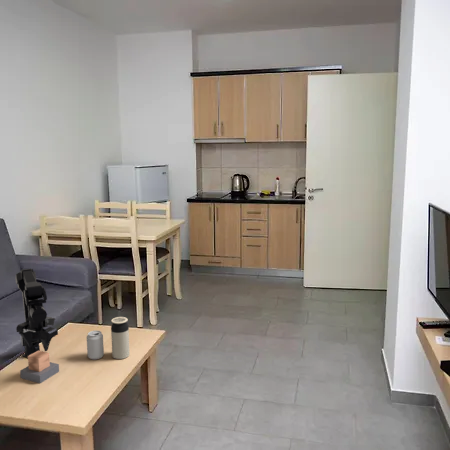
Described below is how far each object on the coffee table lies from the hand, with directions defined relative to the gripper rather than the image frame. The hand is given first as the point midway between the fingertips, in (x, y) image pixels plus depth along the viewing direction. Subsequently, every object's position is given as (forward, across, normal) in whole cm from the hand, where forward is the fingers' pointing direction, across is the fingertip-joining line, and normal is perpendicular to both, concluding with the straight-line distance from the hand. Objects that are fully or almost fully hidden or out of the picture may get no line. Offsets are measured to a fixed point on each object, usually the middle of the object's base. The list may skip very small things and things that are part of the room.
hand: (38, 348), depth 198 cm
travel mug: (+12, -20, -30) cm, 38 cm away
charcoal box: (+12, 0, 0) cm, 13 cm away
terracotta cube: (+8, 0, 0) cm, 8 cm away
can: (+12, -10, -24) cm, 29 cm away
